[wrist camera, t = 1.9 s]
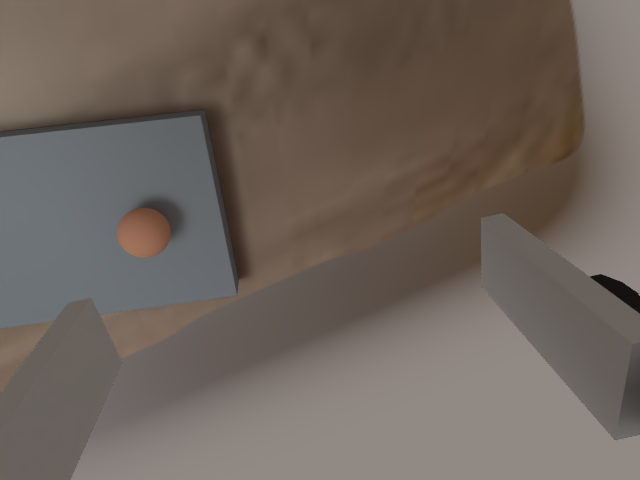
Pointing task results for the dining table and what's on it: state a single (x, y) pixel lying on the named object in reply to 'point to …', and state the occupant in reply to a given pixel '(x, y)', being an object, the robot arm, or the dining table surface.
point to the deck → (109, 216)
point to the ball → (143, 232)
